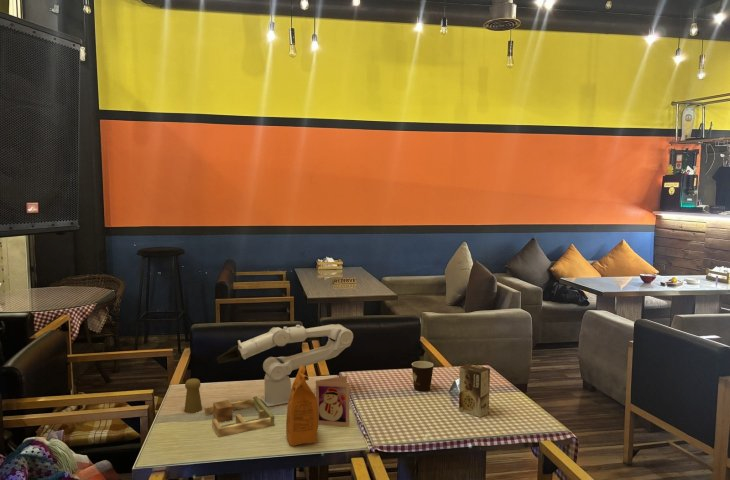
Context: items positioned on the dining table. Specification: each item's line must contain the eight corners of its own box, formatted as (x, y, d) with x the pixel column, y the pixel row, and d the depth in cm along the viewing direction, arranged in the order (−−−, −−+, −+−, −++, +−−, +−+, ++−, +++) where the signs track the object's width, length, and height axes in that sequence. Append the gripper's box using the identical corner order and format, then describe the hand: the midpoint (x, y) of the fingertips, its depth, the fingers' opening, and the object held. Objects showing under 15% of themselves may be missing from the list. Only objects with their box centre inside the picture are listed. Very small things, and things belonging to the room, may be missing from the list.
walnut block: (227, 414, 187) (227, 400, 186) (232, 420, 181) (232, 406, 181) (213, 416, 184) (213, 402, 184) (217, 423, 179) (217, 409, 178)
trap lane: (256, 404, 195) (256, 396, 194) (274, 425, 178) (274, 416, 177) (204, 414, 186) (204, 405, 186) (218, 436, 169) (218, 427, 168)
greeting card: (314, 425, 178) (315, 381, 177) (319, 416, 185) (320, 374, 184) (348, 427, 176) (349, 383, 175) (352, 418, 184) (352, 376, 182)
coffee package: (316, 428, 176) (316, 363, 174) (319, 446, 164) (319, 376, 162) (286, 430, 174) (285, 364, 172) (286, 448, 162) (286, 377, 160)
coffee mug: (434, 393, 208) (434, 368, 207) (412, 392, 208) (412, 367, 207) (430, 382, 220) (431, 358, 219) (409, 382, 220) (410, 358, 219)
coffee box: (489, 412, 190) (491, 368, 189) (480, 418, 185) (481, 372, 184) (467, 405, 196) (468, 362, 195) (457, 410, 192) (459, 366, 190)
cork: (196, 414, 186) (196, 383, 185) (180, 412, 187) (180, 381, 186) (205, 407, 192) (204, 377, 191) (189, 405, 193) (189, 376, 192)
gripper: (248, 336, 200) (212, 350, 195) (254, 334, 186) (216, 349, 181) (254, 354, 199) (219, 368, 194) (261, 353, 186) (223, 369, 181)
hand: (218, 360), depth 188 cm, fingers open, 7 cm apart
